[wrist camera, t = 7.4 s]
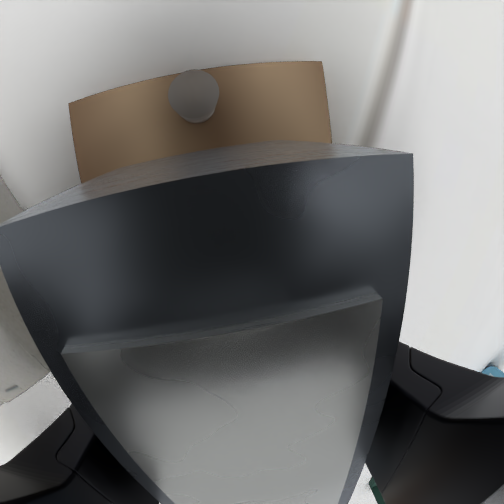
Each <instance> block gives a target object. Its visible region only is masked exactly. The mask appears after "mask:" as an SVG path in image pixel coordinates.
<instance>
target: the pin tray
mask: <svg viewBox="0 0 504 504" xmlns="http://www.w3.org/2000/svg"><path fill="white" fill-rule="evenodd" d="M69 112H70V120H71V128H72V135H73V141H74V147H75V153H76V159H77V164H78V169H79V174H80V179H81V184H82V183H84V182H87V181H89V180H91V179H94V178H96V177H98V176H101V175H103V174H106V173H108V172H111V171H113V170H116V169H118V168H121V167H125V166H129V165H133V164H137V163H142V162H146V161H151V160H155V159H160V158H165V157H170V156H175V155H180V154H185V153H191V152H196V151H202V150H208V149H214V148H220V147H227V146H234V145H241V144H248V143H256V142H264V141H273V140H291V141H308V142H322V143H332V139H331V129H330V119H329V110H328V102H327V94H326V86H325V79H324V72H323V65H322V62H321V61H296V62H269V63H254V64H242V65H232V66H224V67H216V68H208V69H202V70H189V71H185V72H183V73H178V74H173V75H168V76H163V77H158V78H154V79H149V80H145V81H141V82H137V83H133V84H129V85H125V86H121V87H118V88H114V89H111V90H108V91H104V92H101V93H98V94H95V95H91V96H88V97H85V98H83V99H80V100H77V101H74V102H71V103H69Z"/></svg>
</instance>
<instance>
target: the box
mask: <svg viewBox="0 0 504 504" xmlns="http://www.w3.org/2000/svg"><path fill="white" fill-rule="evenodd" d="M21 212H23V210H22V208H21V207H20V205H19V204H18V202H17V201H16V199H15V198H14V196H13V195H12V193H11V192H10V190H9V189H8V187H7V185H6V184H5V182H4V181H3V179H2V177H1V176H0V224H1V223H3V222H5V221H7V220H8V219H10V218H12V217H14V216H16V215H18V214H19V213H21ZM49 372H50V369H49V367H48V366H47V364H46V362H45V361H44V359H43V357H42V355H41V354H40V352H39V350H38V348H37V346H36V344H35V343H34V341H33V339H32V337H31V335H30V333H29V331H28V329H27V327H26V325H25V323H24V321H23V319H22V317H21V315H20V313H19V310H18V308H17V306H16V304H15V301H14V299H13V297H12V295H11V292H10V290H9V287H8V285H7V282H6V280H5V277H4V275H3V272H2V269H1V267H0V405H2V404H3V403H4V402H10V401H11V400H13V399H14V398H16V397H17V396H19V395H20V394H22V393H23V392H25V391H26V390H28V389H29V388H30V387H32V386H33V385H34V384H36V383H37V382H38V381H39V380H41V379H42V378H44V377H45V376H46V375H48V373H49Z"/></svg>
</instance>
